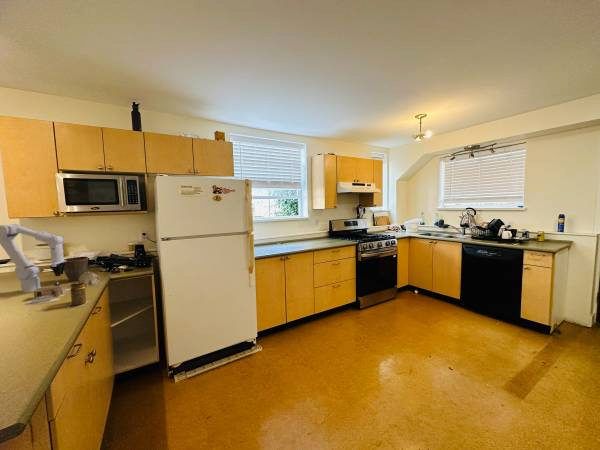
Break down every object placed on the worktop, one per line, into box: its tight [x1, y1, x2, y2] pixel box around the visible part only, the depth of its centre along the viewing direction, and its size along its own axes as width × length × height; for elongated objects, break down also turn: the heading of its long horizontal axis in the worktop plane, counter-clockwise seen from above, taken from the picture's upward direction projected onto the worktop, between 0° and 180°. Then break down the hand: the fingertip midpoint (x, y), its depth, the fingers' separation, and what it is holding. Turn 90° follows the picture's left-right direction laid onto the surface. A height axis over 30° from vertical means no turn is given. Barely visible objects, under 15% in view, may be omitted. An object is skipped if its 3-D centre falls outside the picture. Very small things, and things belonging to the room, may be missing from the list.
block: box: [42, 290, 55, 296], centre depth 147 cm, size 4×4×4 cm
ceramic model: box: [79, 271, 102, 288], centre depth 168 cm, size 14×11×10 cm
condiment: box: [66, 281, 89, 309], centre depth 136 cm, size 7×8×12 cm
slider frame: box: [31, 280, 66, 303], centre depth 148 cm, size 23×7×5 cm, turn 27°
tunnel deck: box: [21, 285, 71, 308], centre depth 147 cm, size 26×14×6 cm, turn 27°
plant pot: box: [63, 256, 89, 283], centre depth 180 cm, size 15×15×16 cm
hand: (59, 275), depth 162 cm, fingers open, 4 cm apart
